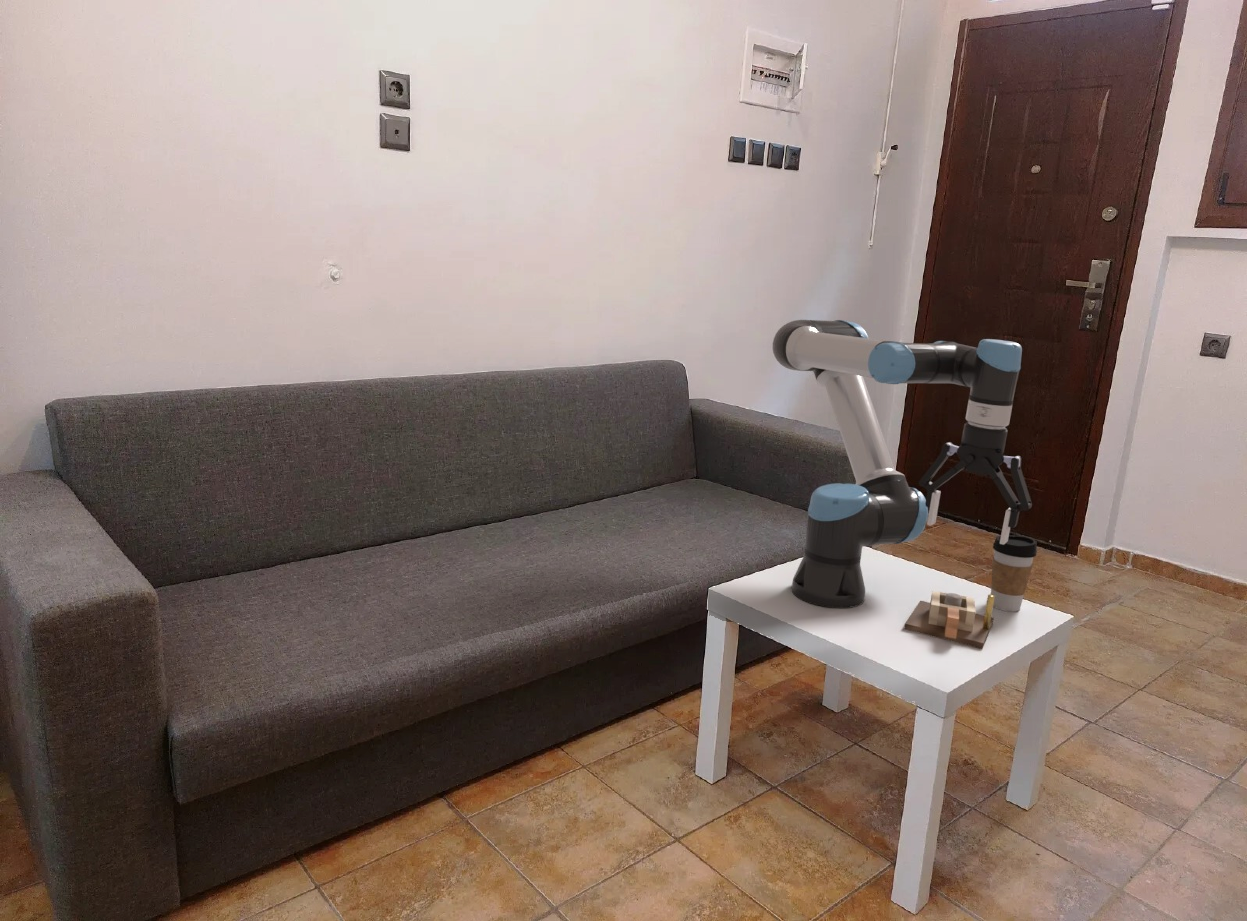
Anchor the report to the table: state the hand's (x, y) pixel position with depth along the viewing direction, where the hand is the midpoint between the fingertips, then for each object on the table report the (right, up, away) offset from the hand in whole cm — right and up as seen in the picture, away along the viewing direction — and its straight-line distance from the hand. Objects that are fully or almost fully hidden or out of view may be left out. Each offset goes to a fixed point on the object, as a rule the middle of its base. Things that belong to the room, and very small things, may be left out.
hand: (966, 533), depth 165 cm
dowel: (+5, -19, +3) cm, 20 cm away
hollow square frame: (-2, -18, +3) cm, 19 cm away
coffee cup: (+15, -17, +18) cm, 29 cm away
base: (-1, -19, +6) cm, 20 cm away
